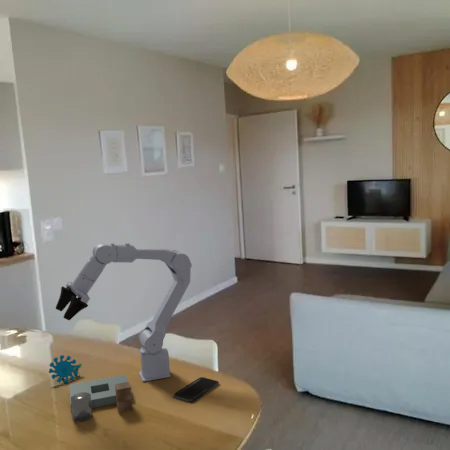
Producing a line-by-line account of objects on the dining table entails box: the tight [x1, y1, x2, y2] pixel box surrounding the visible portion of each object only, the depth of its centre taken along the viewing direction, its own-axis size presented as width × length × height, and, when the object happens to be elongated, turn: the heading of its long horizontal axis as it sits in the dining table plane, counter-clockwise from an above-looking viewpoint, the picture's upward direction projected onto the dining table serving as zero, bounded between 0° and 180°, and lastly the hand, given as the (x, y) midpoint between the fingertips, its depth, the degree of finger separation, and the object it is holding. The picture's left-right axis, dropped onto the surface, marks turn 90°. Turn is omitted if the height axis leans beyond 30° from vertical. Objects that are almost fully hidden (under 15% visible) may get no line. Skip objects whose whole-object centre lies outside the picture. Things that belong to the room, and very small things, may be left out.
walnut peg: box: [115, 381, 133, 413], centre depth 138 cm, size 4×4×7 cm
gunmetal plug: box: [70, 392, 93, 423], centre depth 134 cm, size 6×6×6 cm
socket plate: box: [69, 374, 133, 413], centre depth 146 cm, size 18×14×2 cm
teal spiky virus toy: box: [48, 355, 83, 384], centre depth 161 cm, size 11×6×10 cm
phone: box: [173, 376, 220, 404], centre depth 148 cm, size 8×1×15 cm
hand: (62, 314), depth 146 cm, fingers open, 7 cm apart
